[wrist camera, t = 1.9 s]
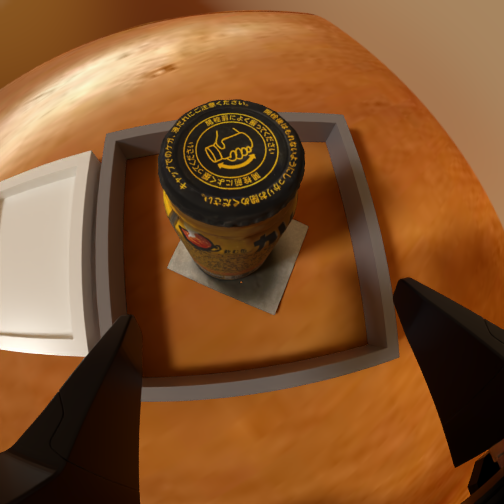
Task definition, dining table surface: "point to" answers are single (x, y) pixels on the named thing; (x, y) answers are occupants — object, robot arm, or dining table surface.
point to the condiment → (234, 199)
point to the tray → (50, 258)
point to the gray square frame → (363, 241)
